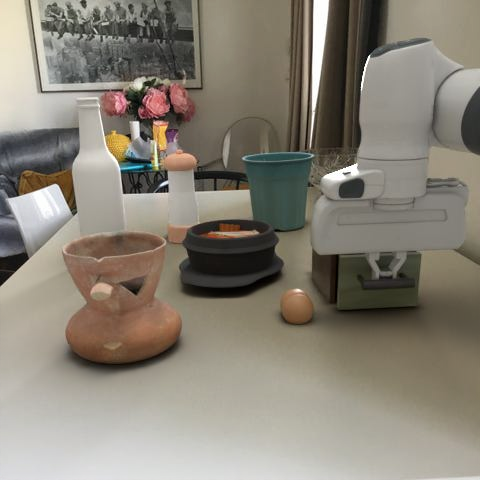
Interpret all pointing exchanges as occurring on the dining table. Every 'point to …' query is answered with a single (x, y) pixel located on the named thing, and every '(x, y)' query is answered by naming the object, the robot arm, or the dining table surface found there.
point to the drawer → (376, 282)
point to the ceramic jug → (119, 297)
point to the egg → (296, 306)
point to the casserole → (229, 253)
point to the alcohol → (96, 175)
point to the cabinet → (325, 274)
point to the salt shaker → (181, 195)
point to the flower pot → (279, 188)
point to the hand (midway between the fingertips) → (383, 282)
